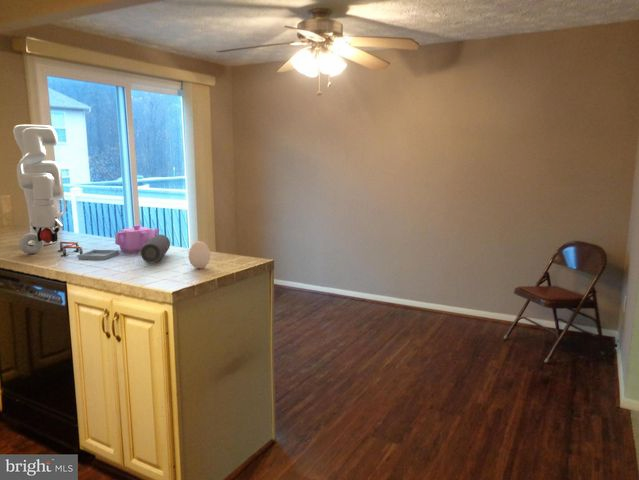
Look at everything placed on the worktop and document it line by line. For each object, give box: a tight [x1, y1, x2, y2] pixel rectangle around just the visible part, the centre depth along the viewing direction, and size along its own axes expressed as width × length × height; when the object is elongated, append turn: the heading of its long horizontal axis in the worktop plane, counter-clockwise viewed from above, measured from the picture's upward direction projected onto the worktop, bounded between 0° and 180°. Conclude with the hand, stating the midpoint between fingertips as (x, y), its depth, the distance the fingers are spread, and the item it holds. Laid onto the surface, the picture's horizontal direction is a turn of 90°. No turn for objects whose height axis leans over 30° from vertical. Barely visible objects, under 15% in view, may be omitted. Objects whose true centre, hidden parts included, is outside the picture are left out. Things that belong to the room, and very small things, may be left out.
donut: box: [18, 232, 44, 255], centre depth 214 cm, size 10×3×10 cm, turn 139°
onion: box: [40, 228, 52, 243], centre depth 213 cm, size 6×6×8 cm
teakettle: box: [114, 224, 160, 254], centre depth 225 cm, size 17×17×12 cm
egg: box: [188, 240, 211, 269], centre depth 190 cm, size 9×9×12 cm
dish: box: [77, 249, 120, 261], centre depth 211 cm, size 12×12×2 cm
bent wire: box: [57, 241, 84, 258], centre depth 216 cm, size 13×19×4 cm
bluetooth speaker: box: [140, 234, 171, 264], centre depth 205 cm, size 23×9×10 cm, turn 8°
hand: (47, 240), depth 213 cm, fingers closed on onion, 5 cm apart
